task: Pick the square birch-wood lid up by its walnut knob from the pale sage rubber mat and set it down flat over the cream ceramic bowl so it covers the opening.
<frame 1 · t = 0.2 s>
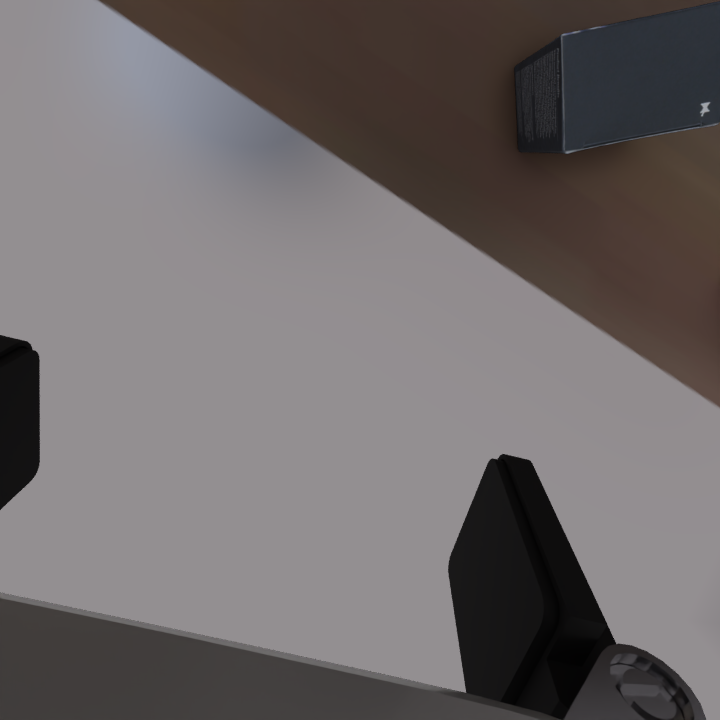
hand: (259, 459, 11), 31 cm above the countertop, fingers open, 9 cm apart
box: (571, 99, 35), on the countertop
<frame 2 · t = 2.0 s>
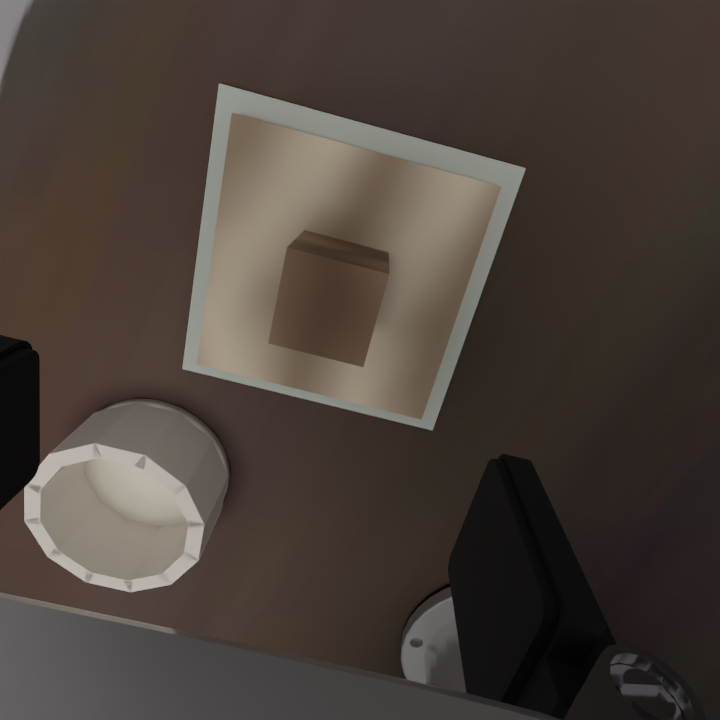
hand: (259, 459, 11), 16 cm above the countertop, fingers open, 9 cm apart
bowl: (154, 466, 31), on the countertop
lid: (333, 291, 23), on the mat
mat: (339, 275, 26), on the countertop
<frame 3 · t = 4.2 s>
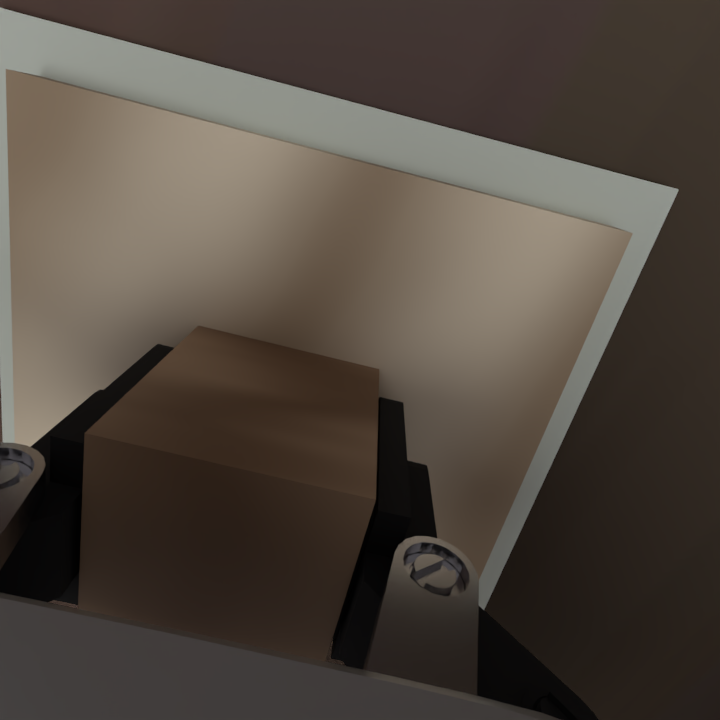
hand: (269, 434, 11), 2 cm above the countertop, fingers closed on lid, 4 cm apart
lid: (256, 469, 10), on the mat, touching gripper
mat: (284, 398, 13), on the countertop
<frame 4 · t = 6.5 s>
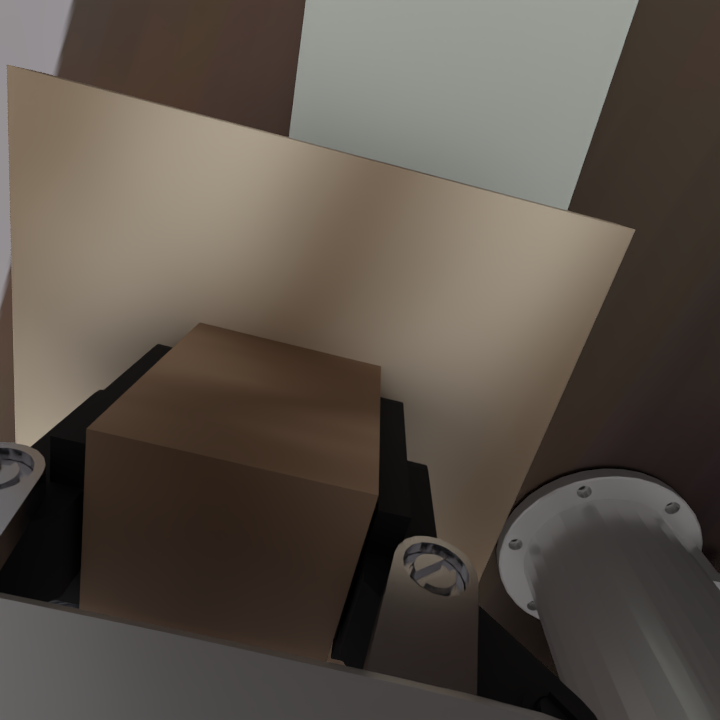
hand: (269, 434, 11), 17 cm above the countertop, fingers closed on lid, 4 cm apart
lid: (257, 466, 10), point 18 cm above the countertop, touching gripper
mat: (437, 139, 25), on the countertop
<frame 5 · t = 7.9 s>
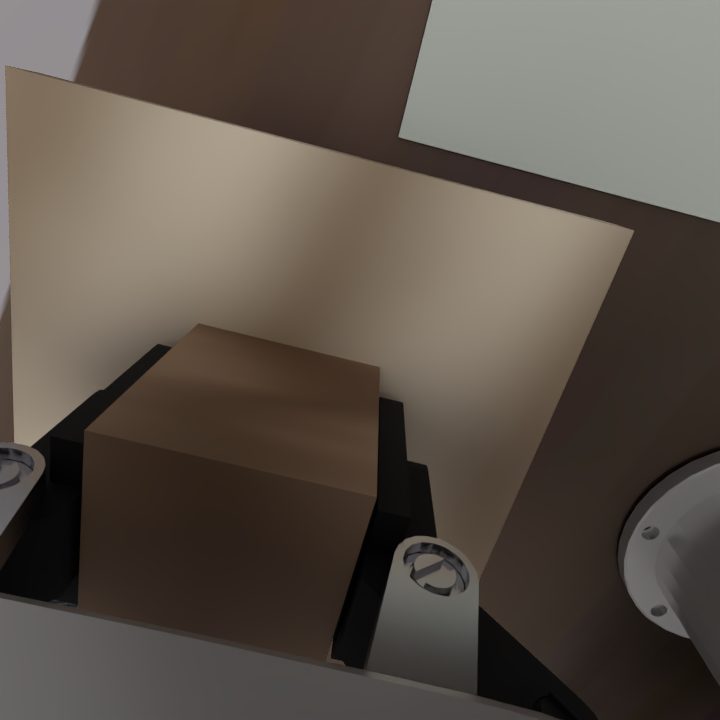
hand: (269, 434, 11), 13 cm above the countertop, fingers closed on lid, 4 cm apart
lid: (256, 467, 10), point 14 cm above the countertop, touching gripper
when the fingers open (8 cm above the countertop, at t = 9.1 s): lid drops 2 cm, resting on bowl.
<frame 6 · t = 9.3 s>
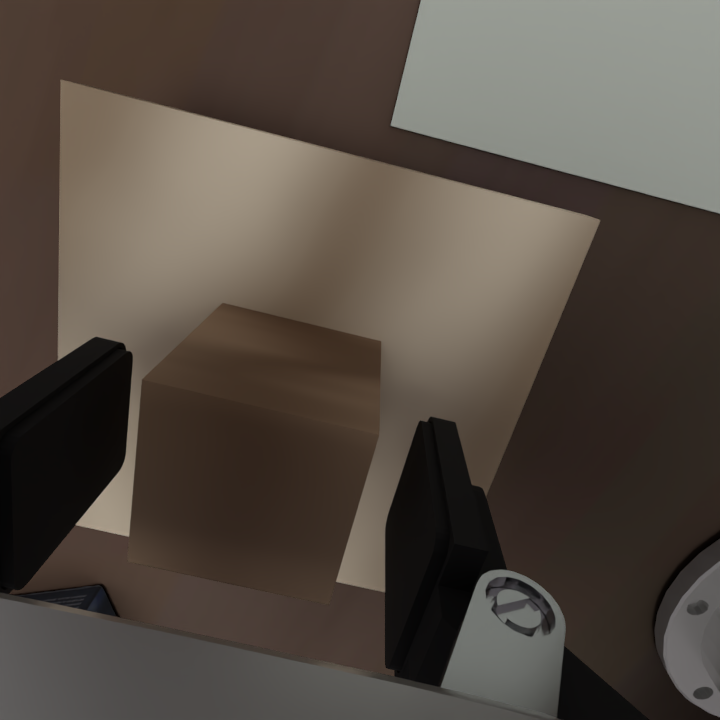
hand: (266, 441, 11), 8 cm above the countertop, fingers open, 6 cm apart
box: (85, 641, 26), on the countertop
lid: (274, 426, 12), on the bowl, point 8 cm above the countertop
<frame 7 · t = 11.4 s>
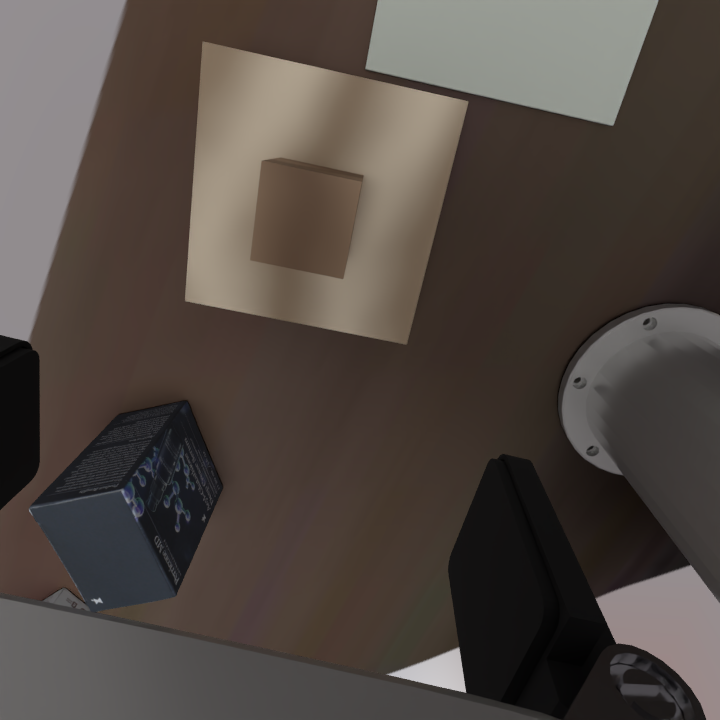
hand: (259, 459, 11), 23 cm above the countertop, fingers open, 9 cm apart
supplement box: (70, 636, 46), on the countertop
box: (173, 449, 38), on the countertop
lid: (311, 213, 23), on the bowl, point 8 cm above the countertop
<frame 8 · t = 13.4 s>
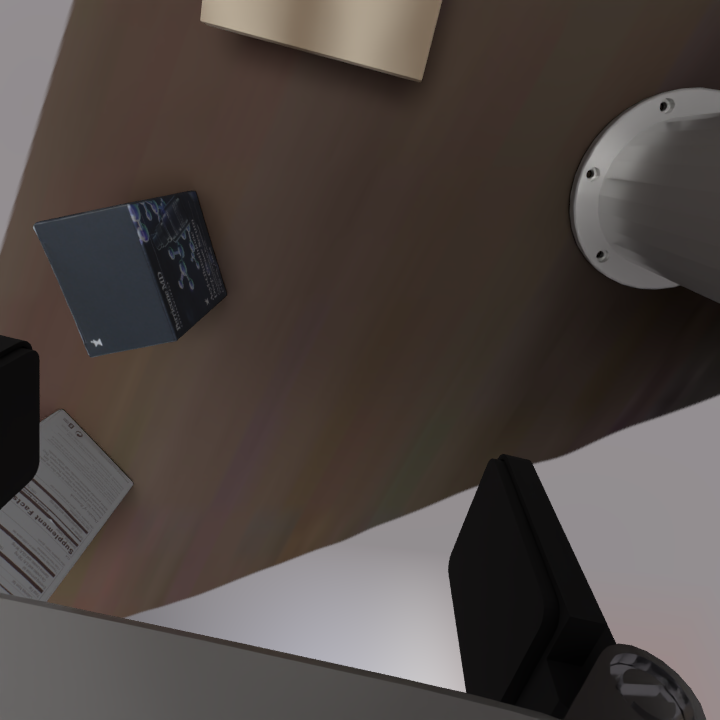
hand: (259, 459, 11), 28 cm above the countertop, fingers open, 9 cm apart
supplement box: (65, 468, 46), on the countertop
box: (178, 250, 38), on the countertop
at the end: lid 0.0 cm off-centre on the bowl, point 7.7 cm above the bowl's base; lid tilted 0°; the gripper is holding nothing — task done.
